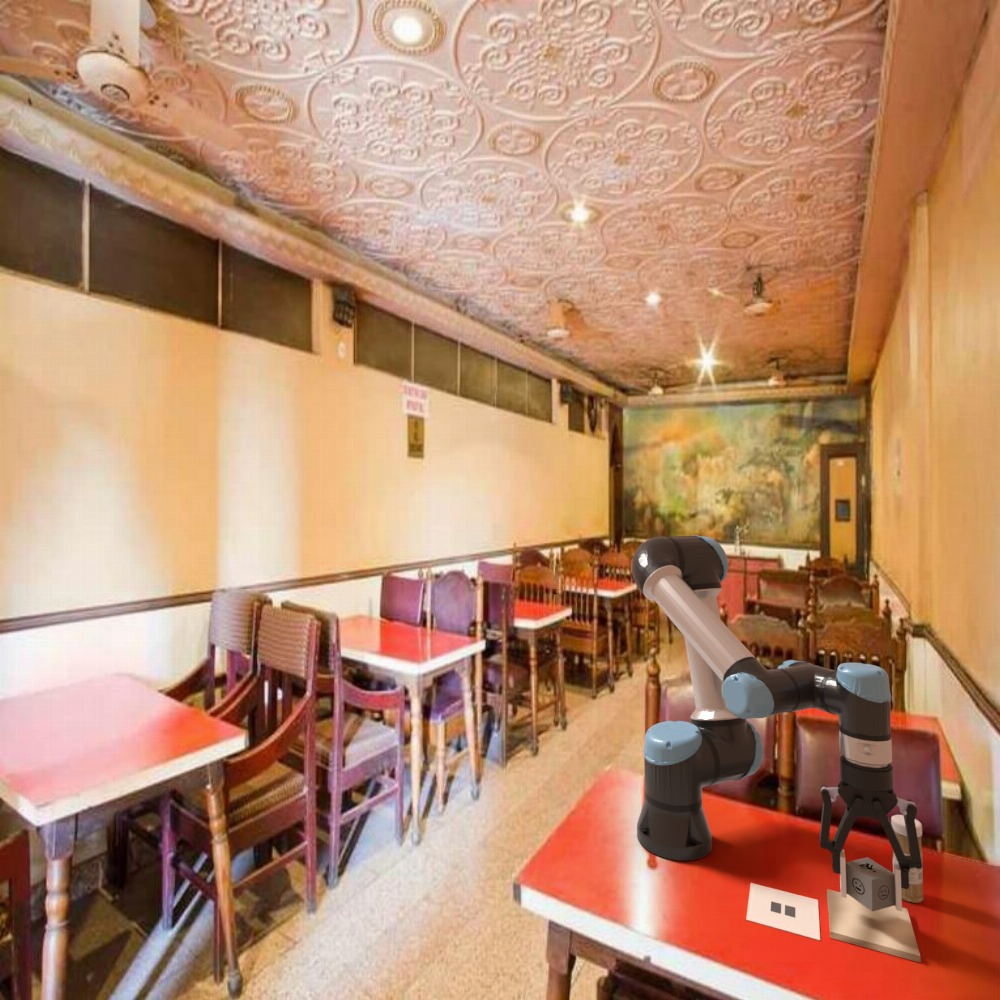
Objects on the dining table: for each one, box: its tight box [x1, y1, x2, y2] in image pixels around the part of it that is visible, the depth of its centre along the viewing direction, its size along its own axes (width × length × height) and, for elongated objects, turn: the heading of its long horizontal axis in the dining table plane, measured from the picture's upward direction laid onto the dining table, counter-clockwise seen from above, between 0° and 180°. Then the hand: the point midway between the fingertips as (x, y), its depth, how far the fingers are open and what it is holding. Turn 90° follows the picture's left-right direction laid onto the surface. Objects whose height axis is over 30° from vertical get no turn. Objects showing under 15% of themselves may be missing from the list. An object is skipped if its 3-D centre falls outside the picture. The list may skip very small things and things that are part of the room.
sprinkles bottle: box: [890, 814, 925, 904], centre depth 105 cm, size 5×5×13 cm
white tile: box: [745, 882, 821, 941], centre depth 102 cm, size 11×11×1 cm
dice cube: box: [845, 856, 895, 912], centre depth 97 cm, size 5×5×5 cm
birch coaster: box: [826, 888, 922, 963], centre depth 97 cm, size 12×12×1 cm
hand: (870, 899), depth 97 cm, fingers closed on dice cube, 7 cm apart
